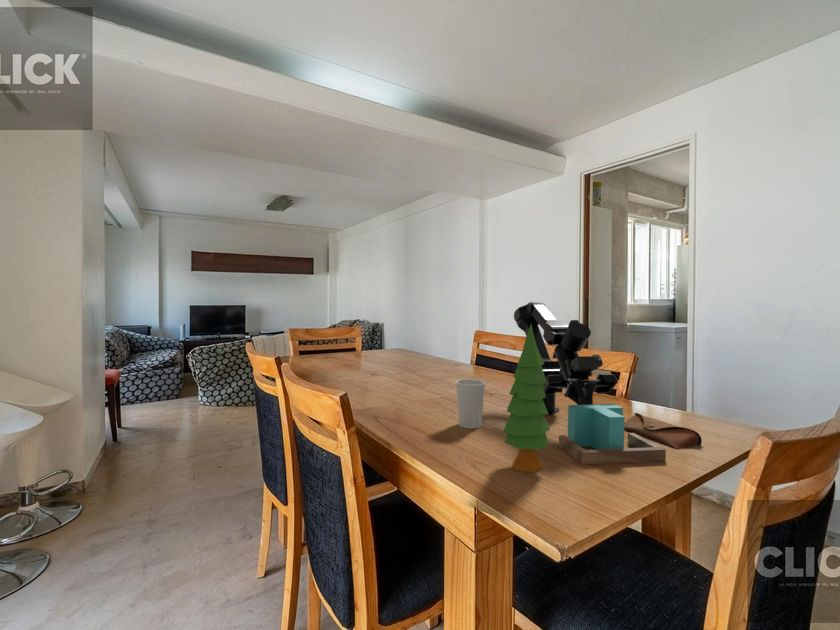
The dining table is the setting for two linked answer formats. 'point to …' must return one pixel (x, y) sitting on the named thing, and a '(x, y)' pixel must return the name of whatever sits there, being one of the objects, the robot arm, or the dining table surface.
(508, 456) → the dining table surface
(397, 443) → the dining table surface
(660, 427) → the sunglasses case
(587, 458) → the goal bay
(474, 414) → the cup
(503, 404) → the dining table surface
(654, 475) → the dining table surface
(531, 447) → the decorative tree
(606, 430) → the t block
